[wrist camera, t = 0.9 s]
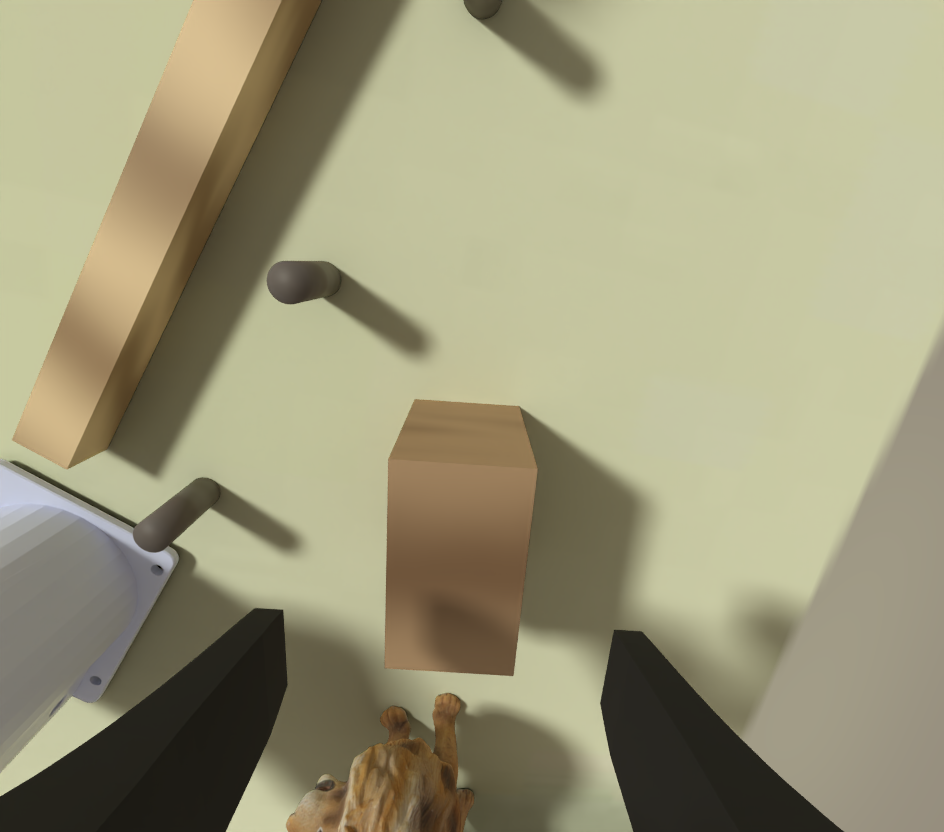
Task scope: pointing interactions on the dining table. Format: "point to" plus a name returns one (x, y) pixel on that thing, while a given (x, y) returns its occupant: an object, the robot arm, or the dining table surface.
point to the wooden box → (458, 537)
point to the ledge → (171, 235)
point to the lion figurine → (394, 783)
